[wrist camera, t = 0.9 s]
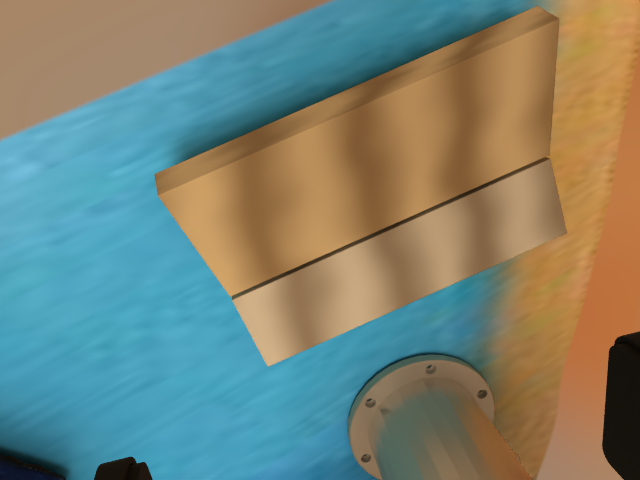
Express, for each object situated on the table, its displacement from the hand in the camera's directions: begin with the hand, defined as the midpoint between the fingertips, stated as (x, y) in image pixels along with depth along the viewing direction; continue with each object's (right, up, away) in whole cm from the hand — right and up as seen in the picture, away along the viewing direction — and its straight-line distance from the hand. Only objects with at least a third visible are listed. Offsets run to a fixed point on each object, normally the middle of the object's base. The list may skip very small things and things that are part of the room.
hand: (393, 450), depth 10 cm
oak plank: (+1, +10, +23) cm, 25 cm away
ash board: (+4, +3, +29) cm, 29 cm away
